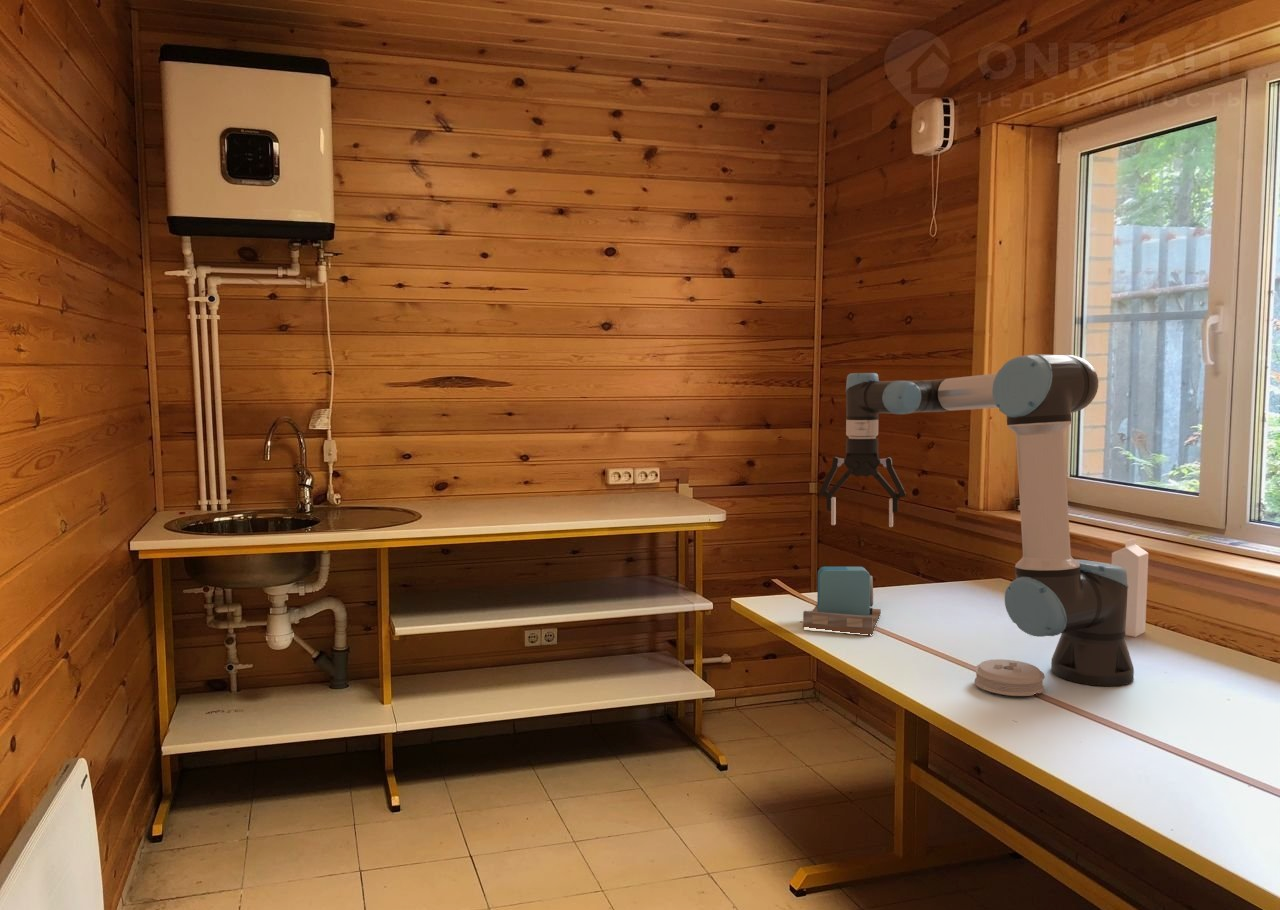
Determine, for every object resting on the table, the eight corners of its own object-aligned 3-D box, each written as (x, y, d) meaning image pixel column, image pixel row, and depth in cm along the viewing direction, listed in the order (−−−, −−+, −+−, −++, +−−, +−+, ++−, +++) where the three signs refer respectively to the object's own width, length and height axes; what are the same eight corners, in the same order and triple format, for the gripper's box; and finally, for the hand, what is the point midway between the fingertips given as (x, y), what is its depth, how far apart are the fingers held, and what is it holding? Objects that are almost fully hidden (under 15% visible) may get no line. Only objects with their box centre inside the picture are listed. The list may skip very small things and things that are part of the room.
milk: (1145, 632, 225) (1150, 539, 222) (1135, 637, 221) (1140, 542, 218) (1118, 627, 229) (1122, 535, 227) (1107, 632, 225) (1112, 539, 223)
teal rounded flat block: (866, 614, 237) (866, 566, 235) (869, 619, 232) (870, 570, 231) (817, 614, 237) (817, 566, 236) (819, 618, 233) (820, 570, 232)
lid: (960, 683, 191) (961, 659, 190) (1011, 675, 195) (1012, 651, 195) (1005, 704, 179) (1006, 678, 178) (1058, 695, 183) (1059, 670, 183)
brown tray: (871, 636, 223) (872, 617, 222) (802, 630, 228) (803, 612, 227) (880, 615, 242) (880, 597, 241) (816, 610, 247) (817, 592, 247)
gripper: (807, 438, 230) (807, 525, 232) (915, 438, 222) (914, 529, 224) (812, 436, 237) (812, 521, 239) (917, 436, 230) (916, 524, 231)
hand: (862, 525), depth 232 cm, fingers open, 13 cm apart
